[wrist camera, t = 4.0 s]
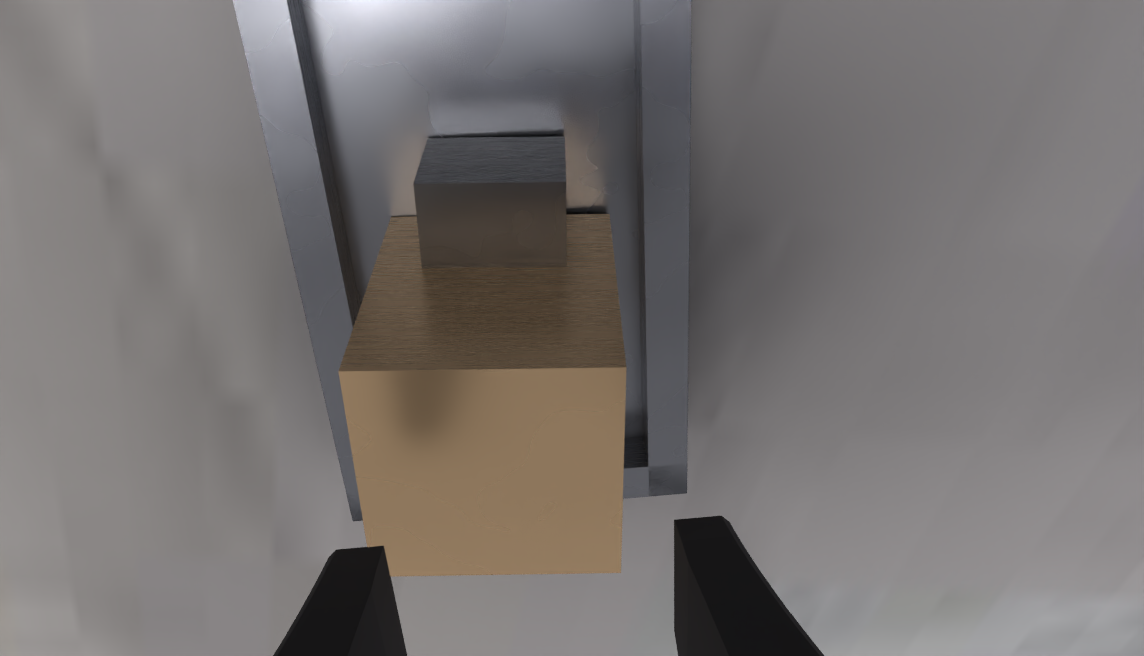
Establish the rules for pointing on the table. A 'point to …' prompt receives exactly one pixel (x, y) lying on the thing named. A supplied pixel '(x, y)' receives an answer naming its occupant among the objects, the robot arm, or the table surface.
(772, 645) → the robot arm
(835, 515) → the table surface
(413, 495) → the wooden block with cap
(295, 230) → the tray
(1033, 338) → the table surface
